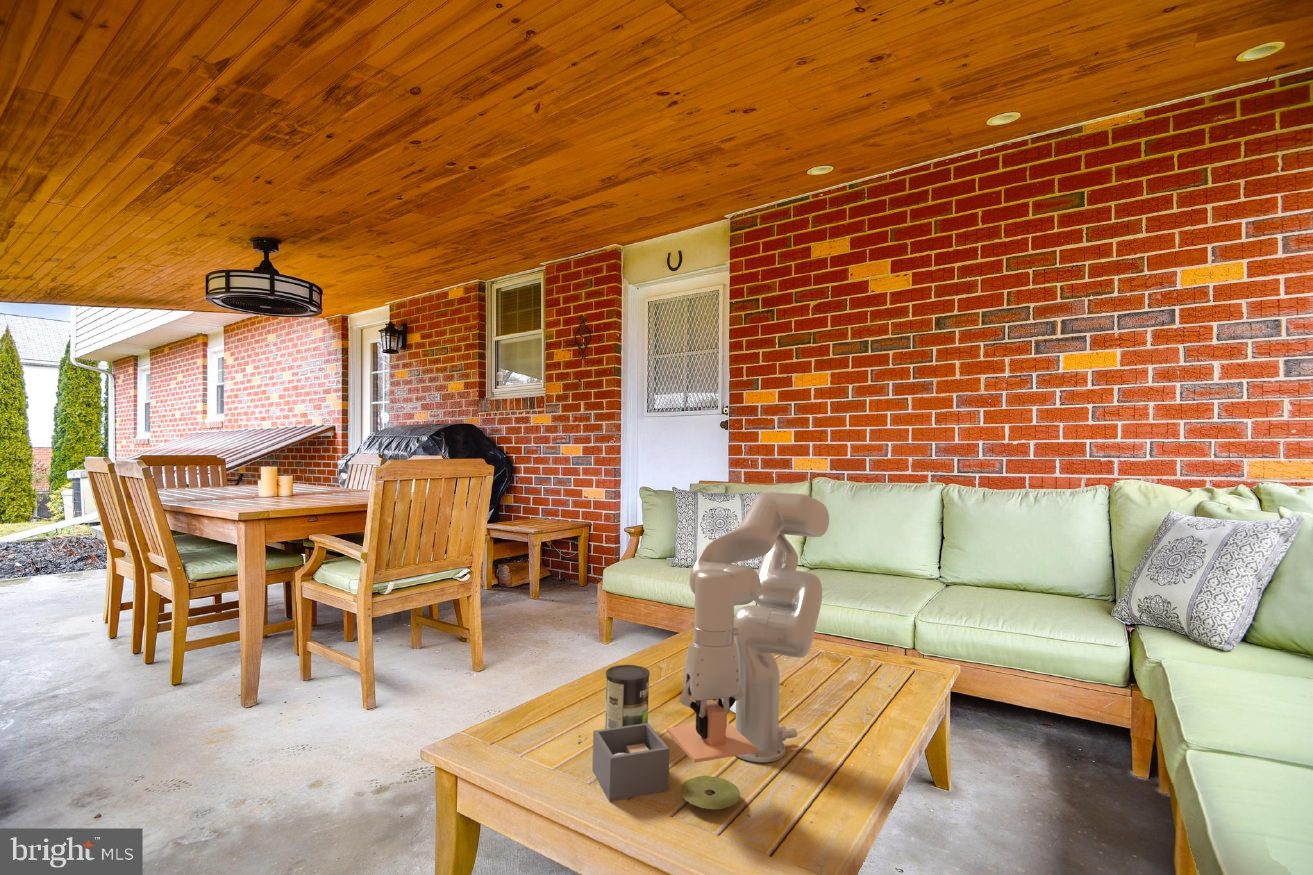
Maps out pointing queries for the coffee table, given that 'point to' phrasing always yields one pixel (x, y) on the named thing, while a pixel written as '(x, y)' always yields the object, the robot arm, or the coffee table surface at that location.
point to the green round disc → (710, 792)
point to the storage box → (630, 761)
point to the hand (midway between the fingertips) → (710, 733)
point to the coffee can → (626, 696)
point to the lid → (712, 737)
